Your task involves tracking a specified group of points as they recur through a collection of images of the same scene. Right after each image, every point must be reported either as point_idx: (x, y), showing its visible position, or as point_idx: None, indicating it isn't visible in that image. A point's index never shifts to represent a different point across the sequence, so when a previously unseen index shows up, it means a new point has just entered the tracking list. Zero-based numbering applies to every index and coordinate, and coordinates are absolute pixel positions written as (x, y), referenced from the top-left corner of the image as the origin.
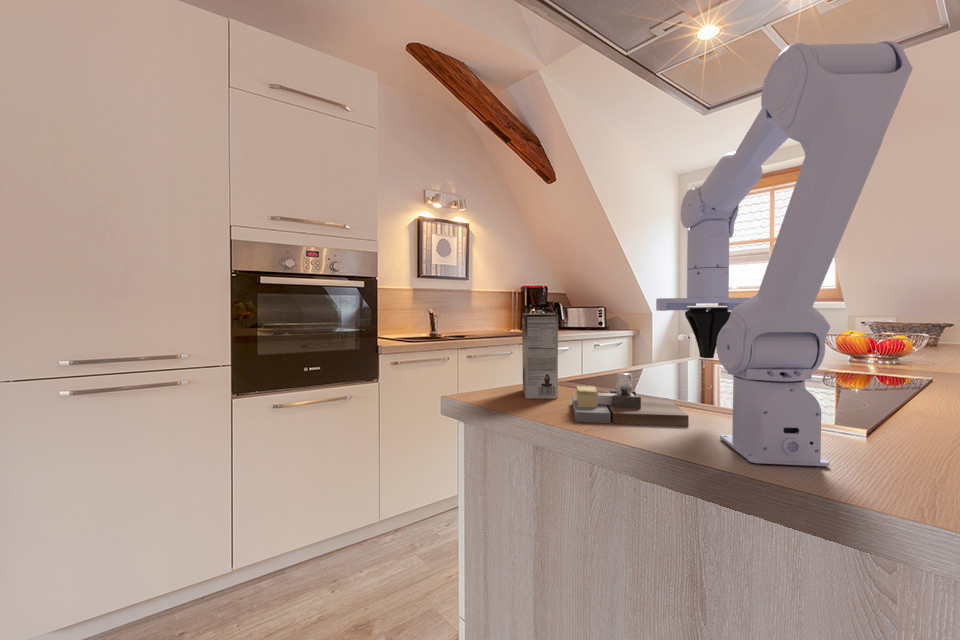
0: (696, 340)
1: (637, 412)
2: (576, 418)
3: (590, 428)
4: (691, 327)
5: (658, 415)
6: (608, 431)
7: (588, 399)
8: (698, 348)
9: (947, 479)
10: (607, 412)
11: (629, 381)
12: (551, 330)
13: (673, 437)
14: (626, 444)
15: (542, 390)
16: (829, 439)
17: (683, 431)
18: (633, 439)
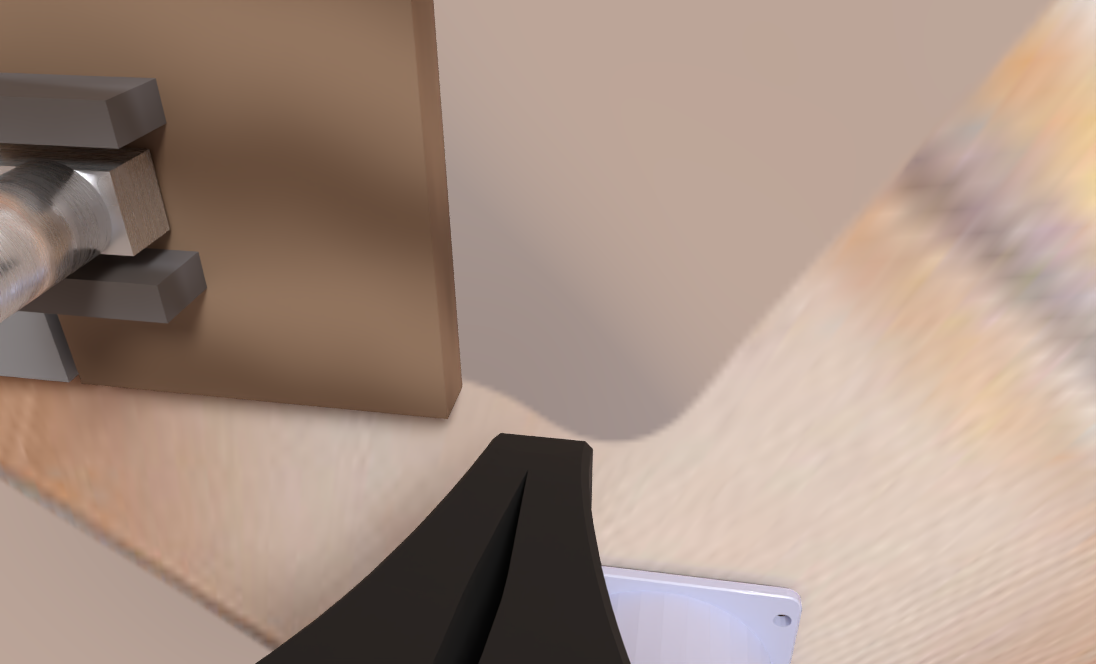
0: (409, 539)
1: (194, 366)
2: None
3: (41, 428)
4: (267, 662)
5: (299, 403)
6: (118, 464)
7: None
8: (459, 483)
9: None
10: (53, 371)
11: (26, 304)
12: None
13: (364, 530)
14: (199, 589)
15: None
16: (1041, 563)
17: (419, 462)
18: (218, 547)
